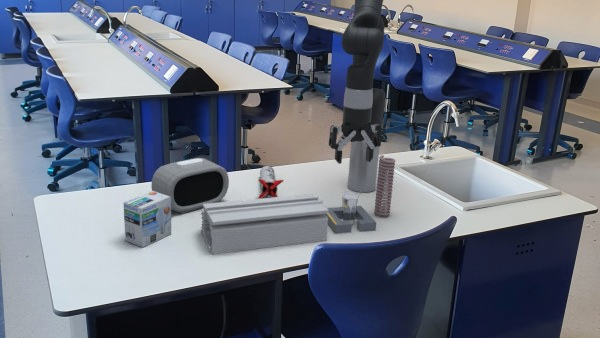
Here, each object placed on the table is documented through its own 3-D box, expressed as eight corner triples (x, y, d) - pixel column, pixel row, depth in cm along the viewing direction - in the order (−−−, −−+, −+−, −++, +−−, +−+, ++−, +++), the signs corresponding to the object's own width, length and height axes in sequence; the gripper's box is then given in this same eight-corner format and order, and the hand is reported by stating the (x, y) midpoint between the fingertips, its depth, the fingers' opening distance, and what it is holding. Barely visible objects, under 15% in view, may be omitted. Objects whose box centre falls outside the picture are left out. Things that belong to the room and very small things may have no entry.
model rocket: (288, 171, 205) (269, 149, 203) (294, 192, 183) (272, 168, 180) (264, 191, 206) (245, 170, 204) (267, 214, 184) (245, 191, 181)
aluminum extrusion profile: (201, 231, 162) (200, 197, 159) (307, 220, 173) (309, 187, 170) (212, 255, 150) (212, 218, 147) (326, 241, 160) (328, 207, 157)
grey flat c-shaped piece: (321, 215, 175) (322, 207, 175) (360, 213, 179) (361, 204, 178) (334, 233, 165) (335, 224, 164) (375, 230, 168) (376, 221, 167)
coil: (391, 213, 180) (397, 156, 174) (386, 219, 176) (393, 160, 170) (376, 210, 181) (382, 153, 175) (371, 215, 177) (377, 157, 171)
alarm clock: (168, 218, 169) (167, 173, 164) (152, 207, 175) (150, 163, 171) (229, 202, 182) (229, 160, 177) (211, 192, 188) (211, 151, 184)
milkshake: (358, 227, 169) (361, 193, 166) (339, 225, 170) (341, 192, 167) (359, 220, 173) (362, 188, 170) (341, 218, 174) (343, 186, 171)
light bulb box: (143, 248, 151) (141, 208, 148) (124, 241, 154) (121, 202, 151) (172, 233, 160) (172, 195, 156) (154, 227, 163) (153, 189, 159)
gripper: (377, 100, 165) (372, 156, 171) (327, 101, 161) (324, 158, 167) (388, 107, 159) (382, 165, 164) (337, 108, 155) (333, 168, 160)
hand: (353, 161), depth 166 cm, fingers open, 8 cm apart
